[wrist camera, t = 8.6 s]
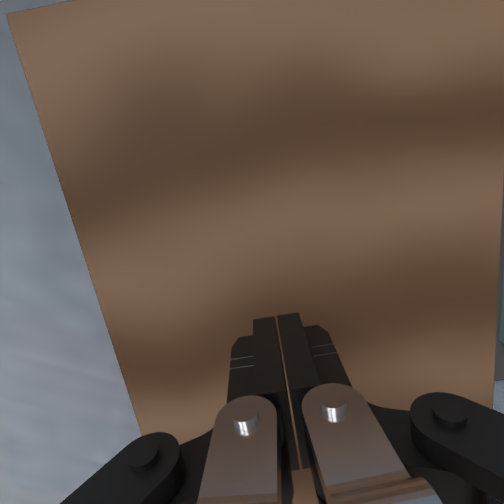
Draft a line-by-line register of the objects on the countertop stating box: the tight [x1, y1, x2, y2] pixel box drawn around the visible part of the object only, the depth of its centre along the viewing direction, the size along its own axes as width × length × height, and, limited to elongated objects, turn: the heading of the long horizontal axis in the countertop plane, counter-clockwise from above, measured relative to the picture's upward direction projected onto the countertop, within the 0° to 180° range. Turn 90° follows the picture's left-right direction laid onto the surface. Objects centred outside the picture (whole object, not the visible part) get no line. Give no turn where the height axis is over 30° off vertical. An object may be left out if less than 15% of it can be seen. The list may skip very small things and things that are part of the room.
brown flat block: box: [6, 0, 504, 504], centre depth 14 cm, size 22×14×4 cm, turn 9°
